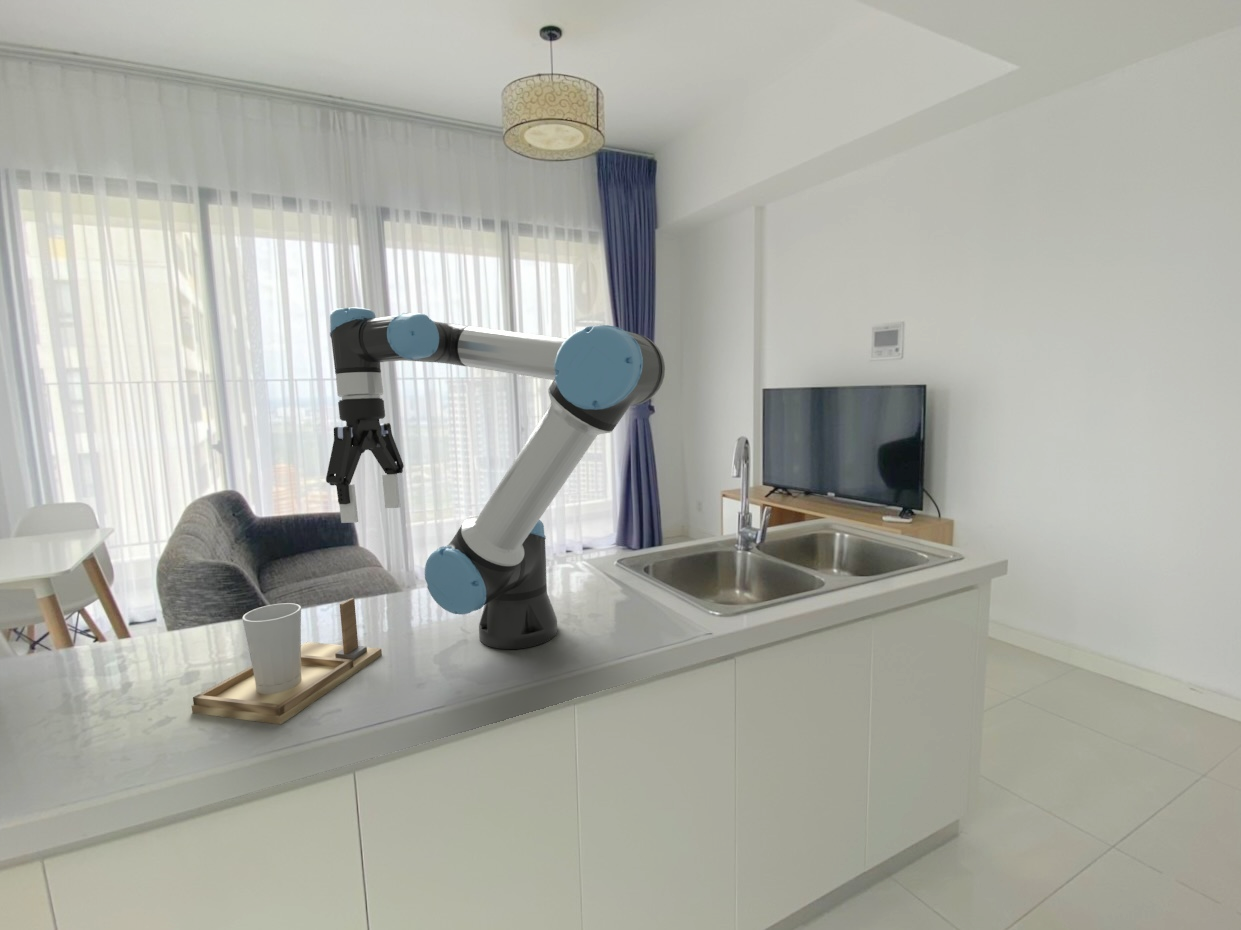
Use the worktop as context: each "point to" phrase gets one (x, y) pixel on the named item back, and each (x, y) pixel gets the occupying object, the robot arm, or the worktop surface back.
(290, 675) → the cup
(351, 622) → the board
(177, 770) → the worktop surface
